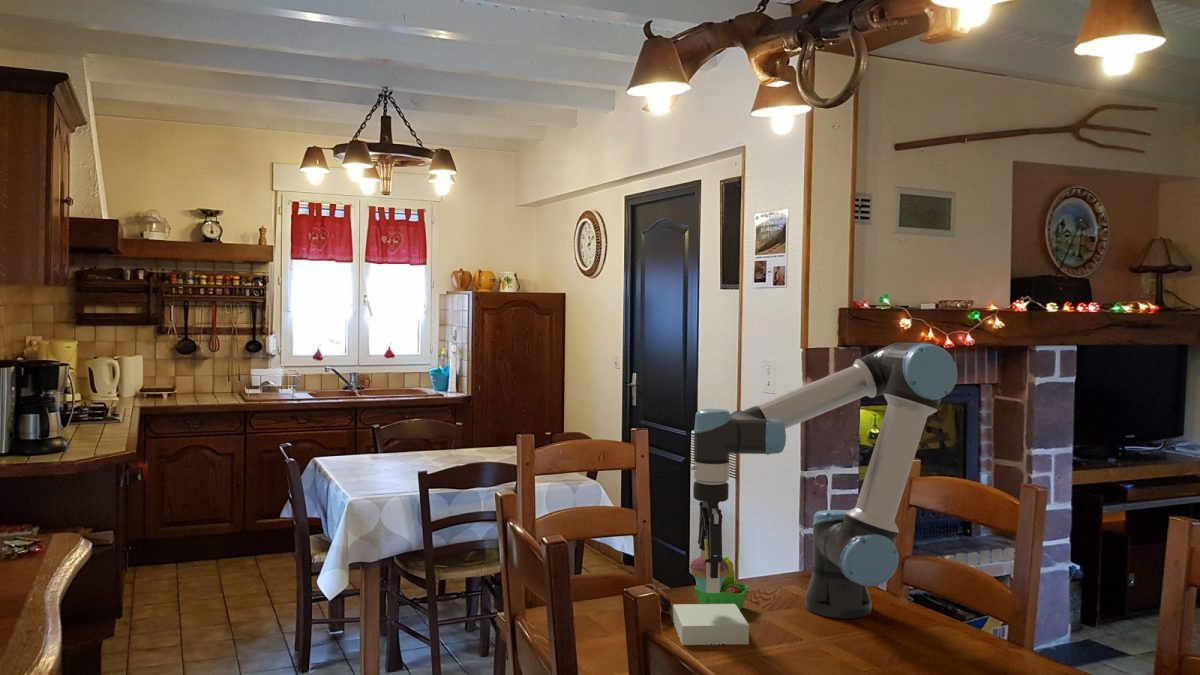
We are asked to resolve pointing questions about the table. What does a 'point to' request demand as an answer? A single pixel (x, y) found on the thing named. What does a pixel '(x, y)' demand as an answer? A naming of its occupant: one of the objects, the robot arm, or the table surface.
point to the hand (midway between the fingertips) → (709, 585)
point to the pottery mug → (662, 599)
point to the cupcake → (700, 570)
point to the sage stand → (710, 624)
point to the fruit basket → (725, 591)
